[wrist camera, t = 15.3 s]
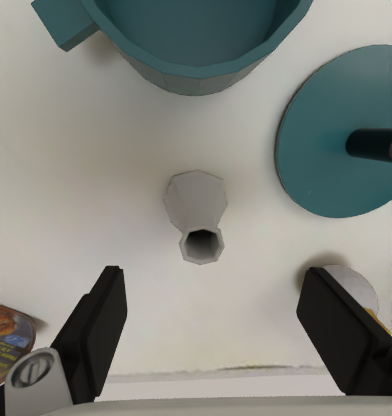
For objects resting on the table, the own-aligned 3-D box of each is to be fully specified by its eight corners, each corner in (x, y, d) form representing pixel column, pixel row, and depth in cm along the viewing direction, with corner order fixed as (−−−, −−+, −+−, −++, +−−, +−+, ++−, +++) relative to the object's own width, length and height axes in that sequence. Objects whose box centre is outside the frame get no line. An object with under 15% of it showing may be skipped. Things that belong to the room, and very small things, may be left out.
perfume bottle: (304, 250, 27) (389, 336, 16) (372, 260, 28) (498, 348, 17) (285, 296, 29) (347, 399, 18) (348, 304, 30) (443, 405, 19)
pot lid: (249, 107, 21) (273, 97, 15) (418, 10, 19) (523, -44, 13) (301, 236, 26) (334, 266, 20) (438, 172, 24) (518, 186, 18)
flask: (164, 167, 23) (149, 193, 13) (231, 171, 23) (262, 199, 14) (163, 228, 25) (149, 286, 16) (223, 231, 25) (244, 289, 16)
